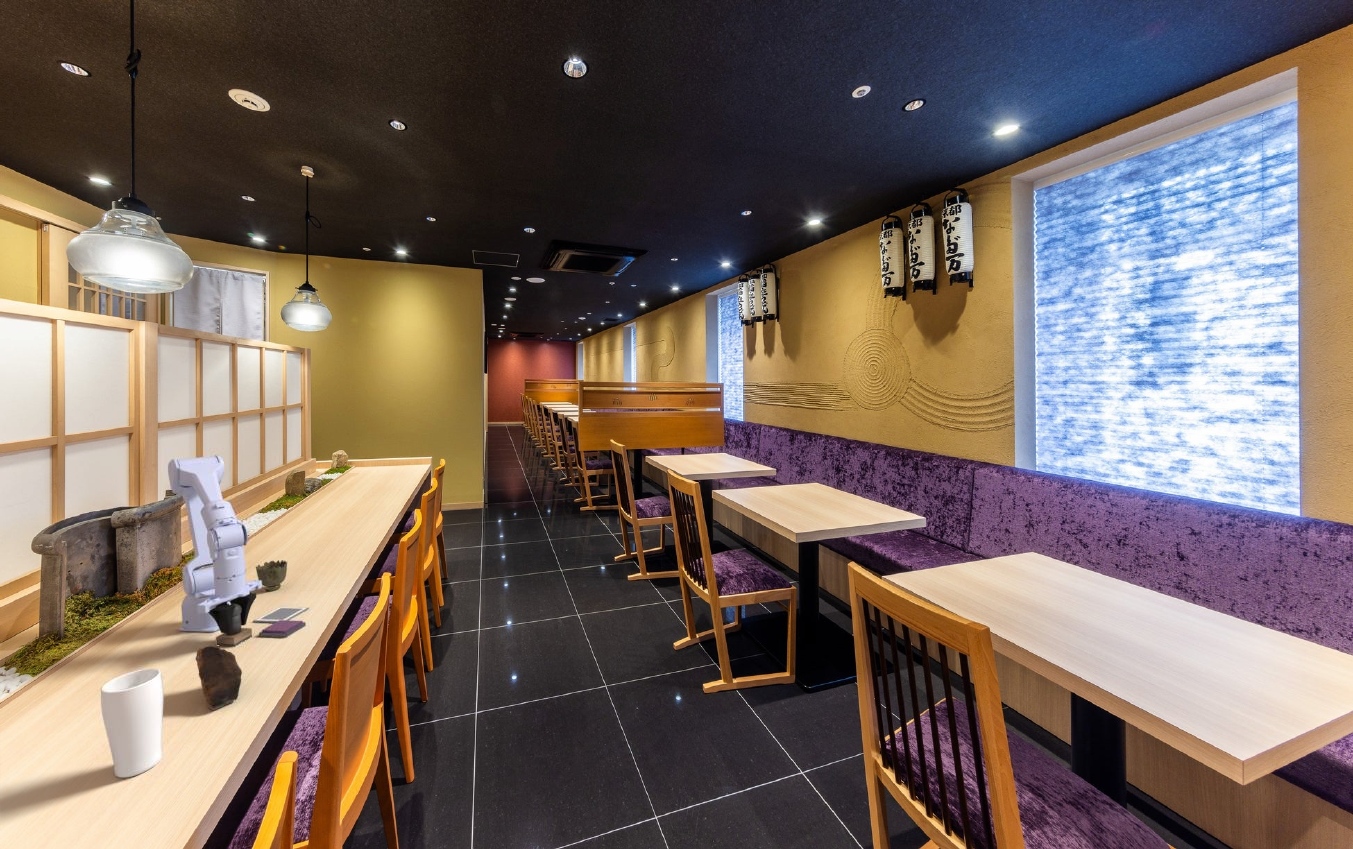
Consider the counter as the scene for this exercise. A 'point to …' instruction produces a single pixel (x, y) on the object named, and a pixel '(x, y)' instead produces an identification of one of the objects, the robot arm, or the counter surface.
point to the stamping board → (281, 614)
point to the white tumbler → (134, 720)
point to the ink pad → (282, 628)
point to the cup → (272, 574)
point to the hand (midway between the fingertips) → (233, 628)
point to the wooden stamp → (235, 631)
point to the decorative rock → (218, 676)
